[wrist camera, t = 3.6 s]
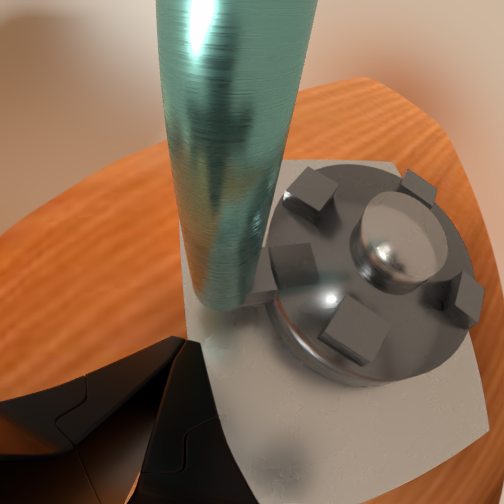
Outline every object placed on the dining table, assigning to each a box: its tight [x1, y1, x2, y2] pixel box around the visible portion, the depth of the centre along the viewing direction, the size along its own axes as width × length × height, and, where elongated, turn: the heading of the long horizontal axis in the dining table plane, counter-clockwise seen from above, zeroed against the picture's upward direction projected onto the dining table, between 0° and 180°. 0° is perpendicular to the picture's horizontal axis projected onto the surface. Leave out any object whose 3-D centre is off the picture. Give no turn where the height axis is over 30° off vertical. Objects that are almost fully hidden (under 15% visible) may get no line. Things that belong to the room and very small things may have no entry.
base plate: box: [179, 160, 489, 504], centre depth 16 cm, size 22×17×2 cm
